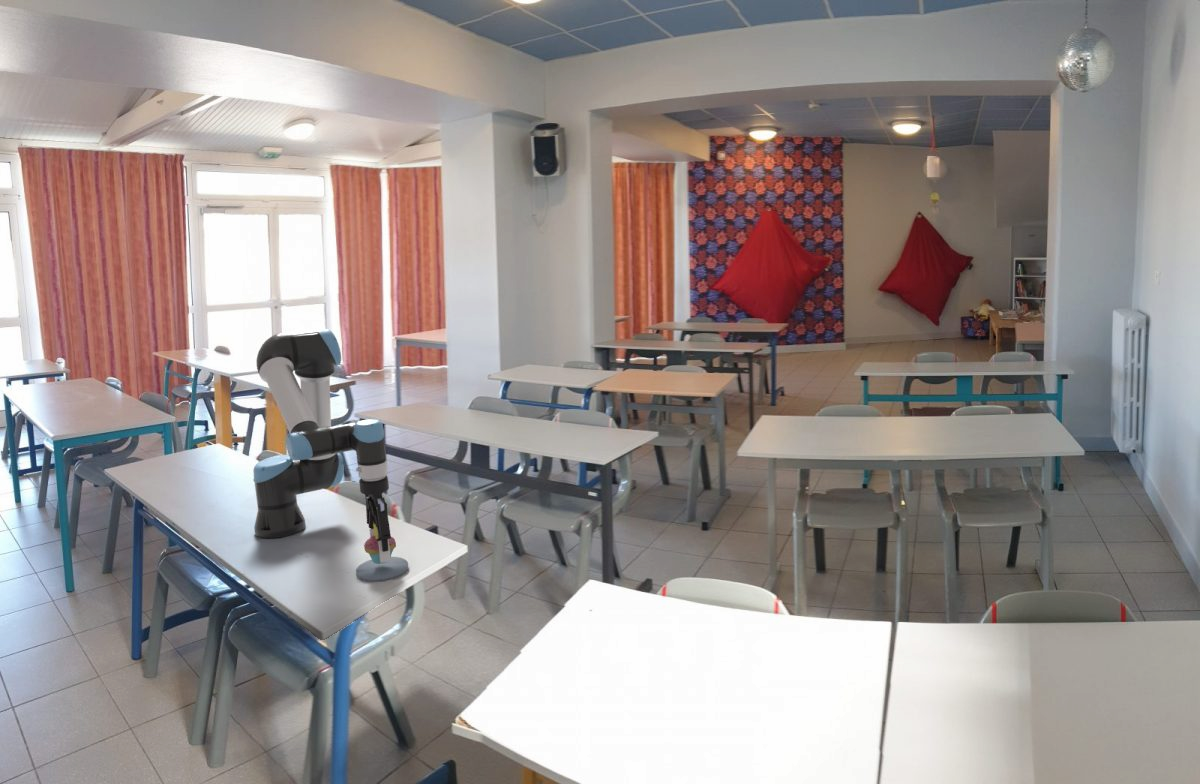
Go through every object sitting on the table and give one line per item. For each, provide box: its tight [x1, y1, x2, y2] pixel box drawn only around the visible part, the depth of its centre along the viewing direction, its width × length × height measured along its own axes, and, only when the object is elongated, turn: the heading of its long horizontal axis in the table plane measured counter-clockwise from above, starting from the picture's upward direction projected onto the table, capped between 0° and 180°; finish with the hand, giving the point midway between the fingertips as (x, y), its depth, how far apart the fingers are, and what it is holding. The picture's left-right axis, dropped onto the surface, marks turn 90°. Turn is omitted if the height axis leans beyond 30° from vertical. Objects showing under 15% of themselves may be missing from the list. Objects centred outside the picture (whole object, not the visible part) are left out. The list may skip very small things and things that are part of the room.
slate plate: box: [355, 556, 409, 583], centre depth 221 cm, size 14×14×1 cm
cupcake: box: [363, 522, 397, 564], centre depth 219 cm, size 9×8×12 cm
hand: (381, 555), depth 220 cm, fingers closed on cupcake, 8 cm apart
